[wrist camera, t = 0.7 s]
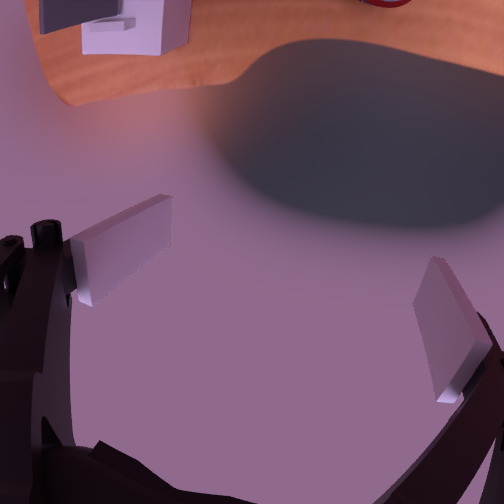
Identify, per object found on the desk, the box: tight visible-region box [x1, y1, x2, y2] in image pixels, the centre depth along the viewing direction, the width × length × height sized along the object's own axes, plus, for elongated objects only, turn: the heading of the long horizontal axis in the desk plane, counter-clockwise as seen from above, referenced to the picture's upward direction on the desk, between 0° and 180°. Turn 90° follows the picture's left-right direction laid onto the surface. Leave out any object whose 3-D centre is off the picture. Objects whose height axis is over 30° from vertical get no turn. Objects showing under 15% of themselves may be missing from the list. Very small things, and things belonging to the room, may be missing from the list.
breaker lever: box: [39, 0, 120, 34], centre depth 21 cm, size 2×5×10 cm, turn 171°
